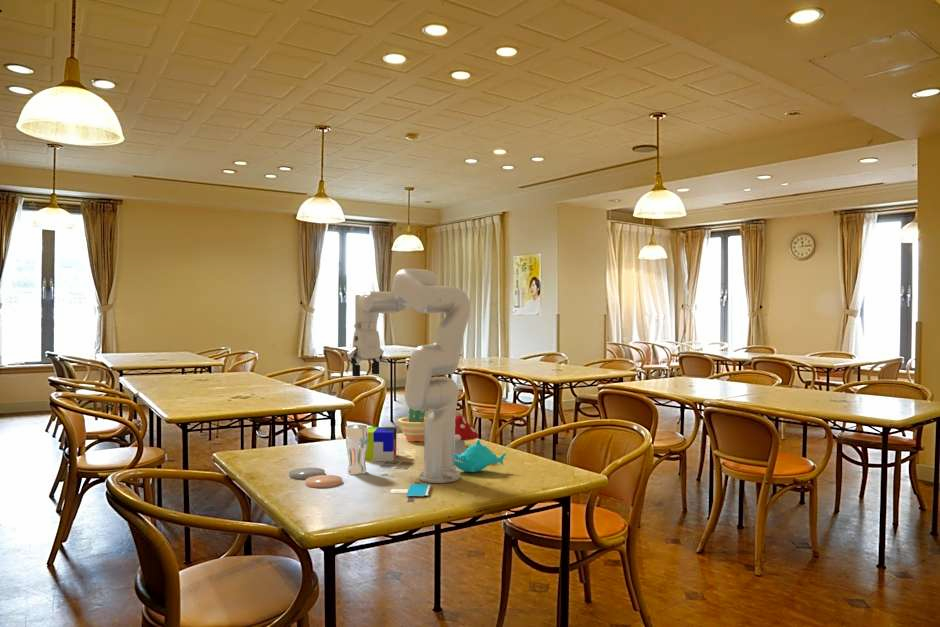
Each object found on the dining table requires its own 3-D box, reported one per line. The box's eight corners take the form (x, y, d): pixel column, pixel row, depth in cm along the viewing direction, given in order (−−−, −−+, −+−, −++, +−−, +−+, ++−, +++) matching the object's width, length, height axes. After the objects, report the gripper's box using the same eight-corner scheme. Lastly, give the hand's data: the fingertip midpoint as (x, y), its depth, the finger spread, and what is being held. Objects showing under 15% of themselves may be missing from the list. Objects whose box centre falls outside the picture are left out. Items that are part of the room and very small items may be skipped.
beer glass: (370, 470, 217) (370, 424, 216) (364, 475, 210) (364, 428, 210) (349, 469, 217) (349, 424, 217) (343, 475, 210) (343, 427, 210)
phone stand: (395, 484, 202) (395, 478, 202) (434, 484, 202) (434, 479, 202) (385, 503, 182) (385, 497, 182) (428, 504, 182) (428, 498, 182)
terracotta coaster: (348, 483, 200) (348, 480, 200) (314, 489, 193) (314, 486, 193) (332, 476, 209) (332, 473, 209) (299, 481, 202) (299, 478, 202)
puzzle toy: (392, 461, 230) (392, 432, 230) (363, 460, 230) (363, 432, 230) (396, 454, 240) (396, 427, 240) (368, 454, 240) (368, 427, 240)
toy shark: (451, 468, 220) (451, 436, 220) (505, 468, 220) (505, 436, 220) (450, 475, 210) (451, 442, 210) (507, 475, 211) (507, 442, 210)
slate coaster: (330, 475, 209) (330, 472, 209) (297, 481, 203) (297, 478, 203) (315, 468, 218) (315, 465, 218) (283, 474, 211) (283, 470, 211)
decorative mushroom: (472, 462, 228) (472, 419, 228) (434, 460, 232) (434, 417, 232) (482, 453, 242) (482, 412, 242) (446, 451, 245) (446, 411, 245)
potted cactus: (430, 444, 258) (430, 380, 258) (392, 442, 261) (392, 379, 261) (439, 436, 273) (439, 376, 273) (403, 435, 276) (404, 375, 276)
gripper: (356, 327, 227) (356, 377, 227) (390, 326, 241) (390, 373, 241) (340, 327, 231) (340, 376, 231) (375, 326, 245) (375, 372, 245)
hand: (366, 375), depth 236 cm, fingers open, 9 cm apart
